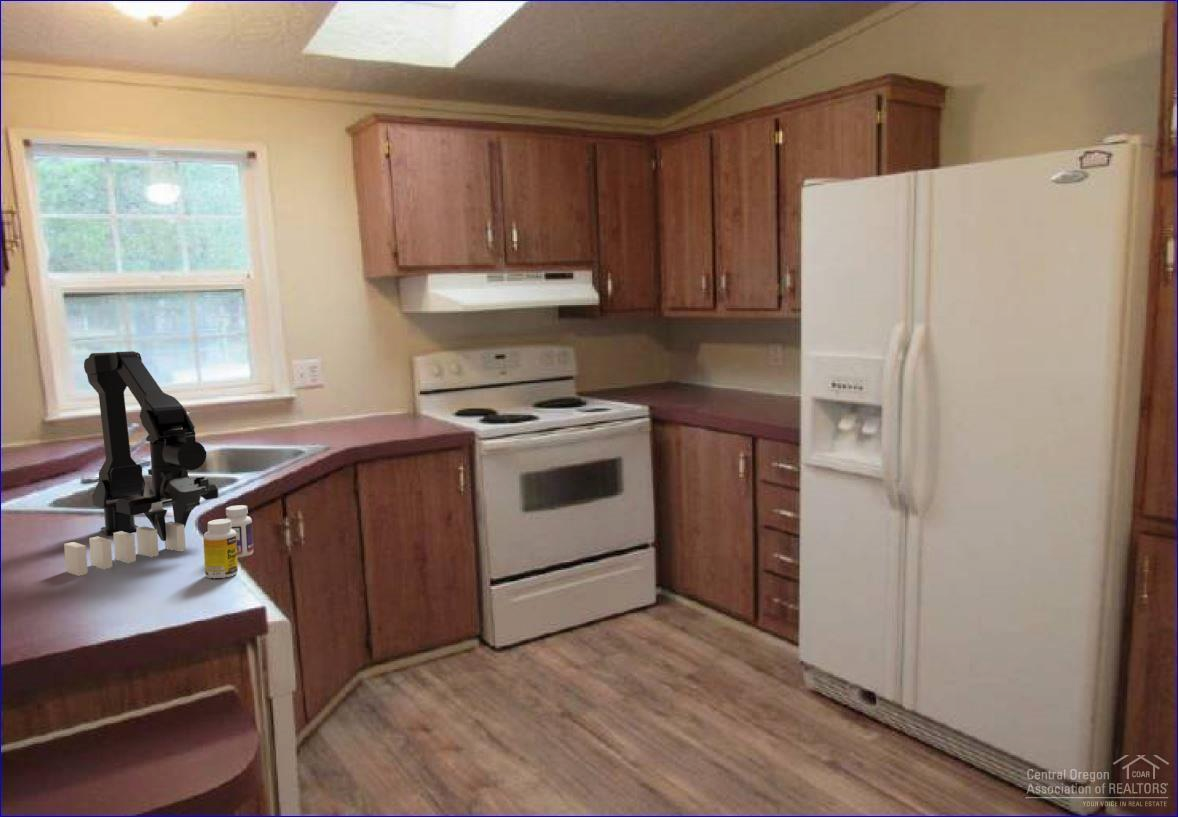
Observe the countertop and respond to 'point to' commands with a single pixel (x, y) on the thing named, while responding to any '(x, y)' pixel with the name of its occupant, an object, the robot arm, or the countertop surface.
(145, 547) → the domino
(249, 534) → the pill bottle
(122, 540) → the domino
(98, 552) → the domino
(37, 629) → the countertop surface
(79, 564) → the domino
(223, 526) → the supplement bottle
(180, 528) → the domino
